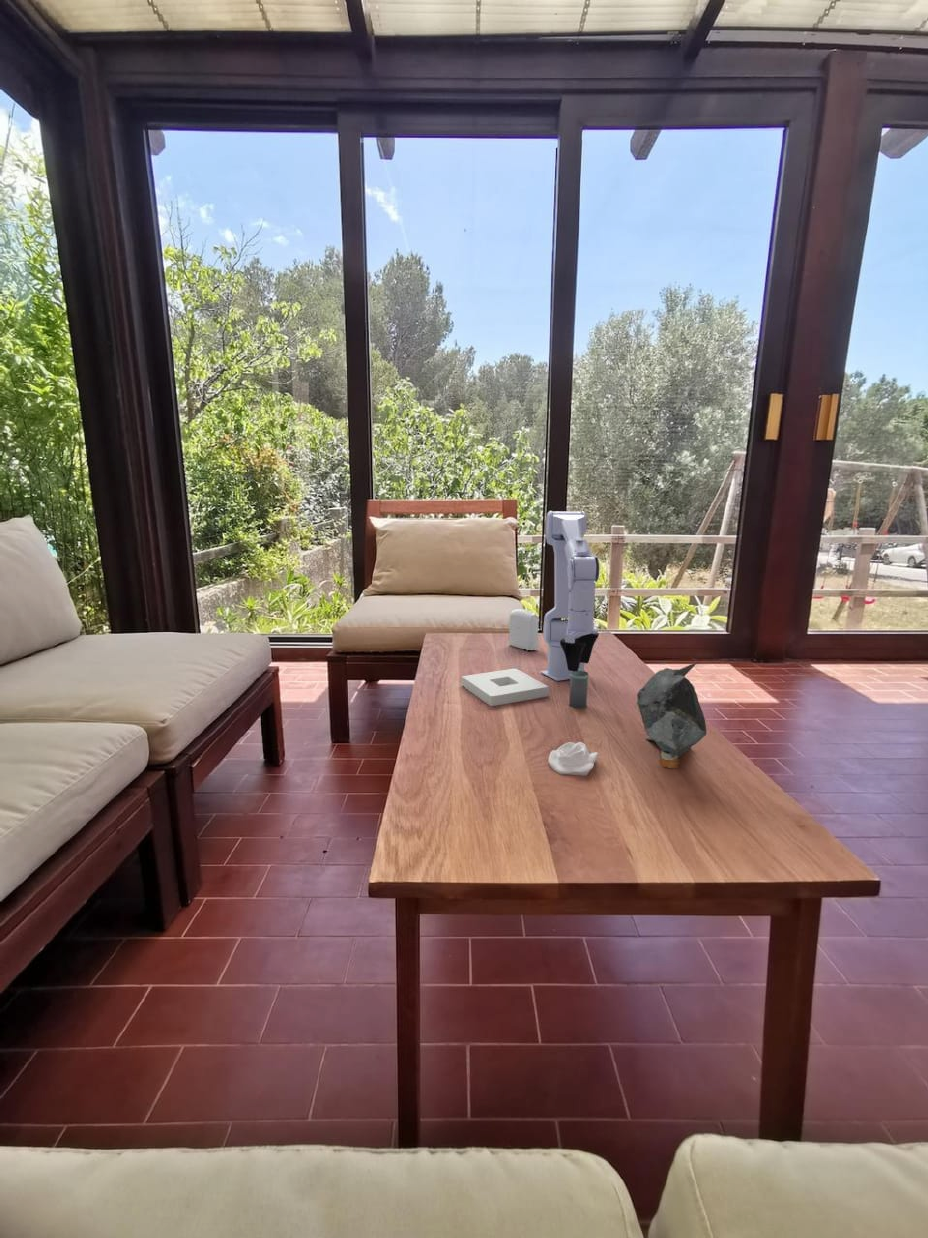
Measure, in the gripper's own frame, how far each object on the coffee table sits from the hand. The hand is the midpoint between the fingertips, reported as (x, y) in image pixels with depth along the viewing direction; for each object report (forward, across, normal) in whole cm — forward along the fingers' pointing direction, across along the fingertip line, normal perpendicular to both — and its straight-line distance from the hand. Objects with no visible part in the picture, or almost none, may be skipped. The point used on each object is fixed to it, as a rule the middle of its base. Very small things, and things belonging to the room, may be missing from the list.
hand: (578, 666), depth 138 cm
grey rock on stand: (+10, -17, -24) cm, 31 cm away
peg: (+10, 0, 0) cm, 10 cm away
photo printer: (+9, +39, +31) cm, 51 cm away
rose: (+11, -29, -10) cm, 32 cm away
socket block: (+9, 0, +19) cm, 21 cm away
